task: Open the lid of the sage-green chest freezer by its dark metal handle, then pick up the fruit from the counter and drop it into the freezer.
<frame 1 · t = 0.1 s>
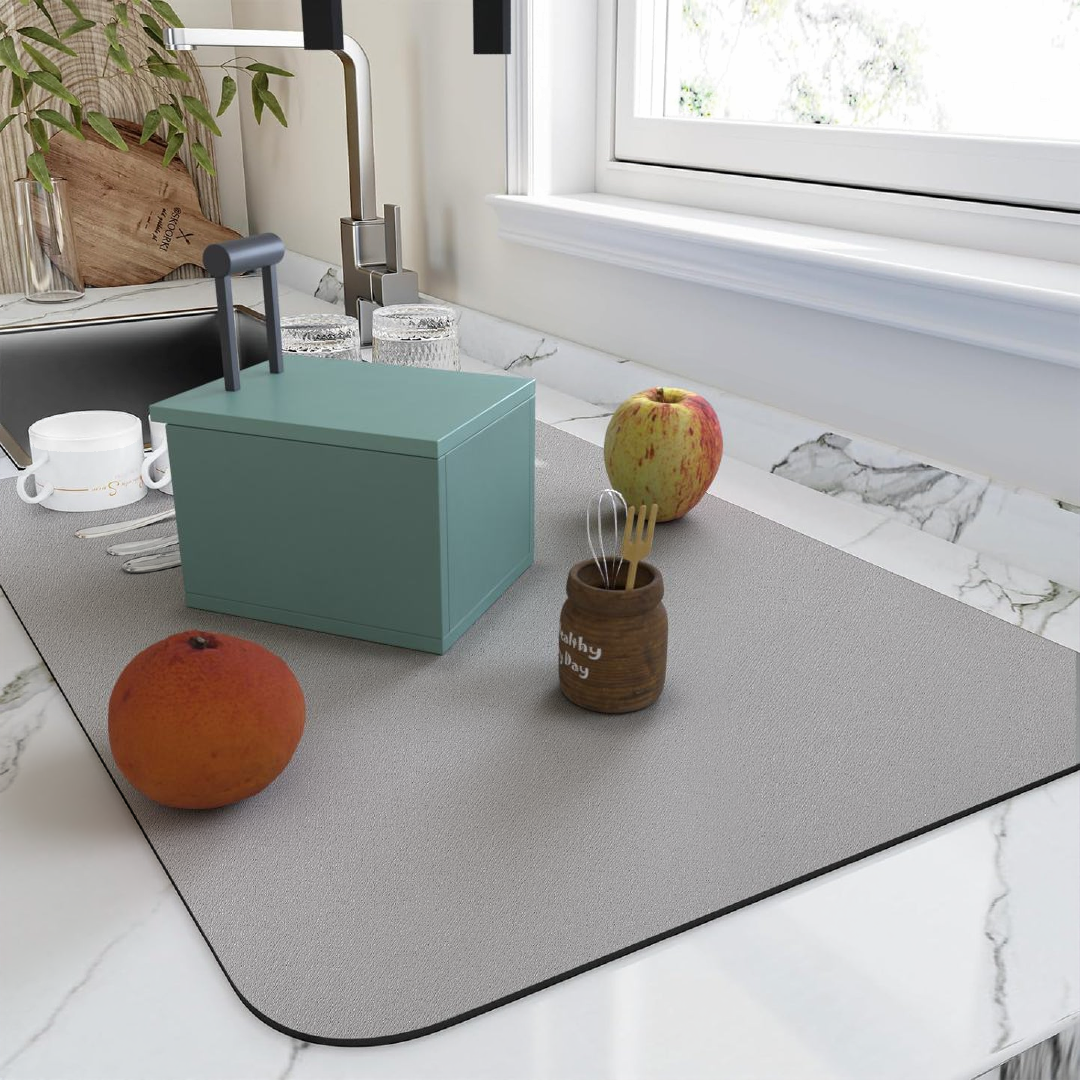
hand: (413, 53, 71), 33 cm above the worktop, tool pointing down, fingers open, 13 cm apart
apple: (658, 516, 90), on the worktop
freezer lid: (347, 327, 71), point 17 cm above the worktop, hinge at 0.0°
freezer: (368, 583, 77), on the worktop
utensil holder: (612, 693, 64), on the worktop
fruit: (217, 787, 55), on the worktop
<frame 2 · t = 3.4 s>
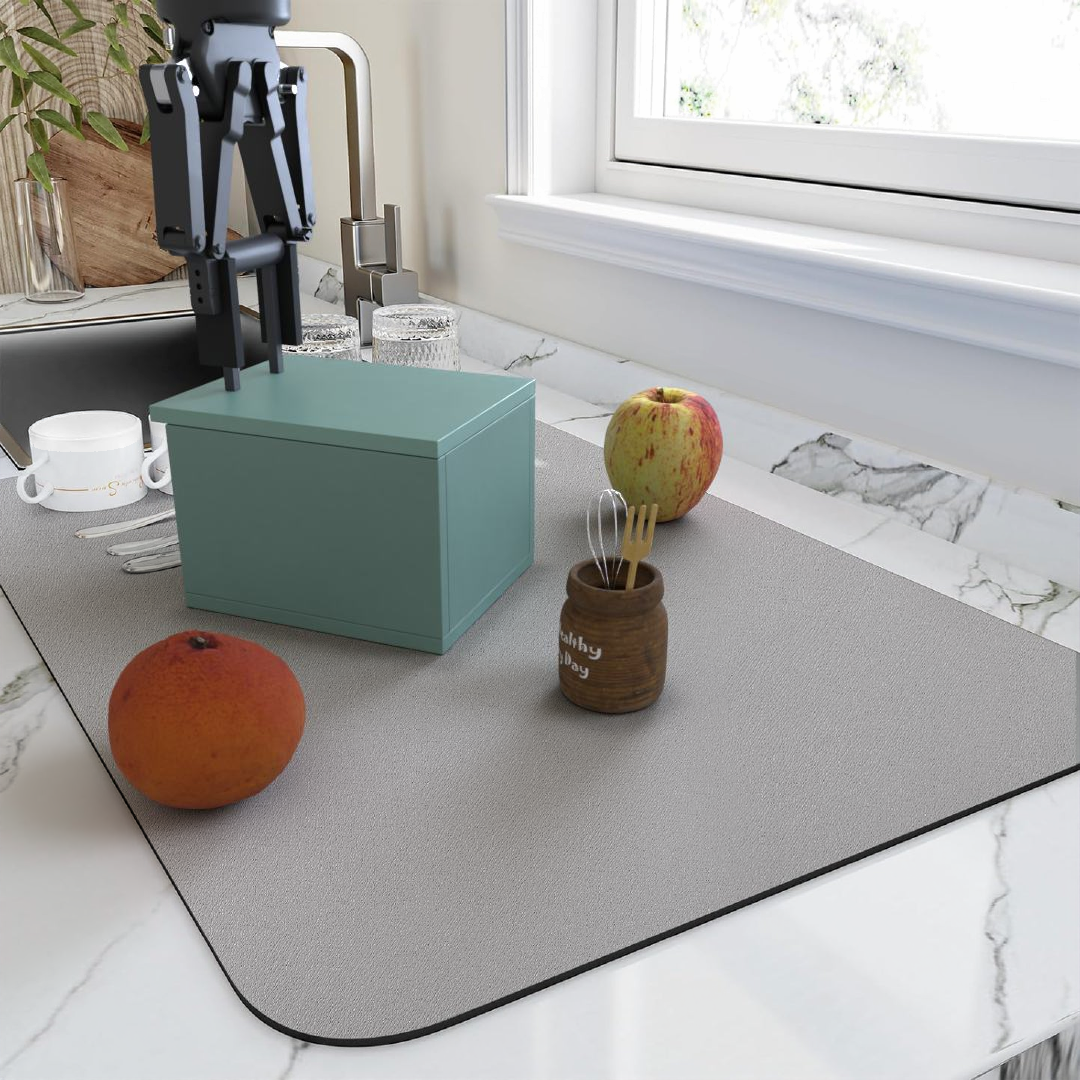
hand: (253, 353, 74), 15 cm above the worktop, tool pointing down, fingers closed on freezer lid, 6 cm apart
freezer lid: (347, 327, 71), point 17 cm above the worktop, hinge at 0.0°, touching gripper
everything else where it was.
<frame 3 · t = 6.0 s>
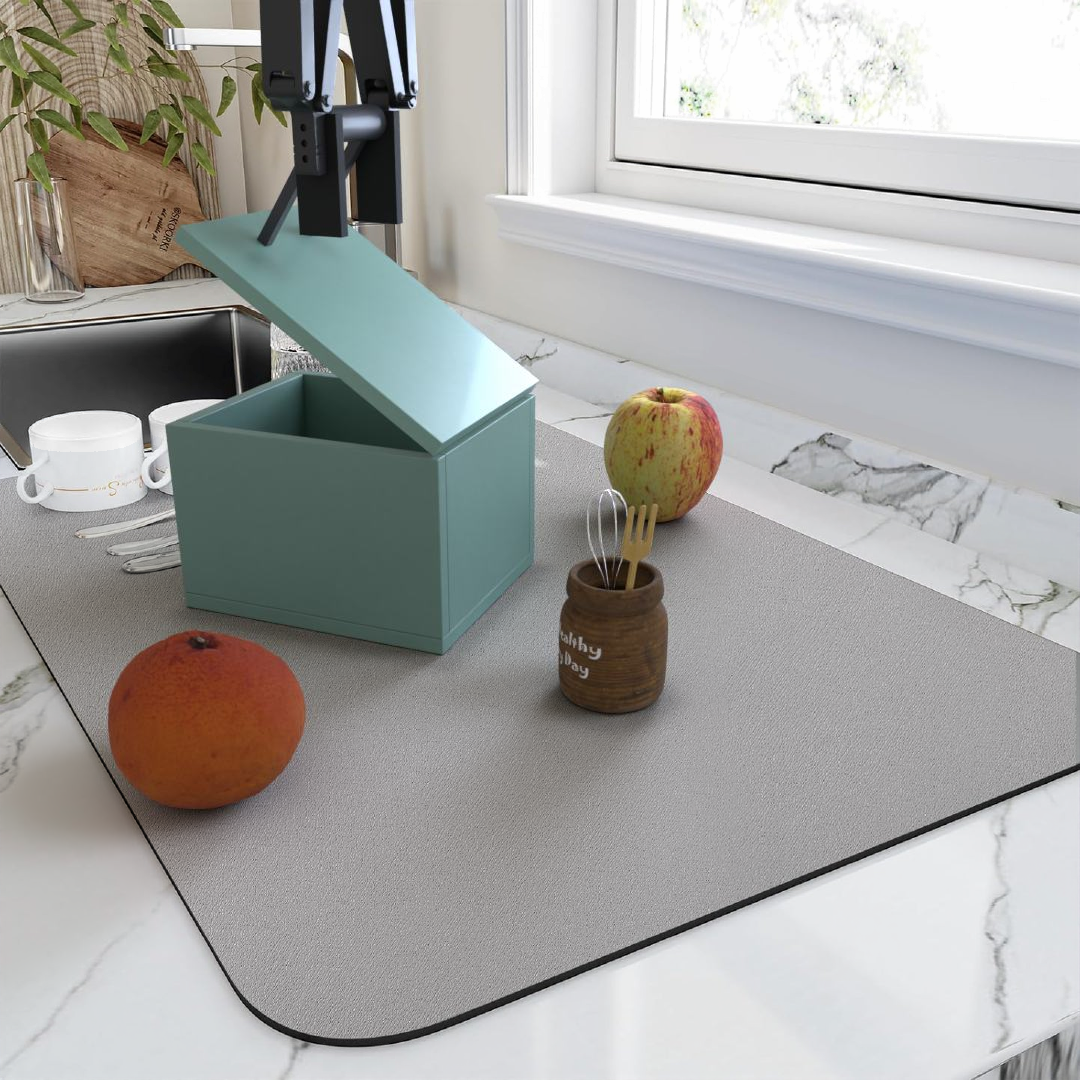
hand: (353, 228, 68), 23 cm above the worktop, tool pointing down, fingers closed on freezer lid, 6 cm apart
freezer lid: (406, 256, 68), point 22 cm above the worktop, hinge at 34.3°, touching gripper
everything else where it was.
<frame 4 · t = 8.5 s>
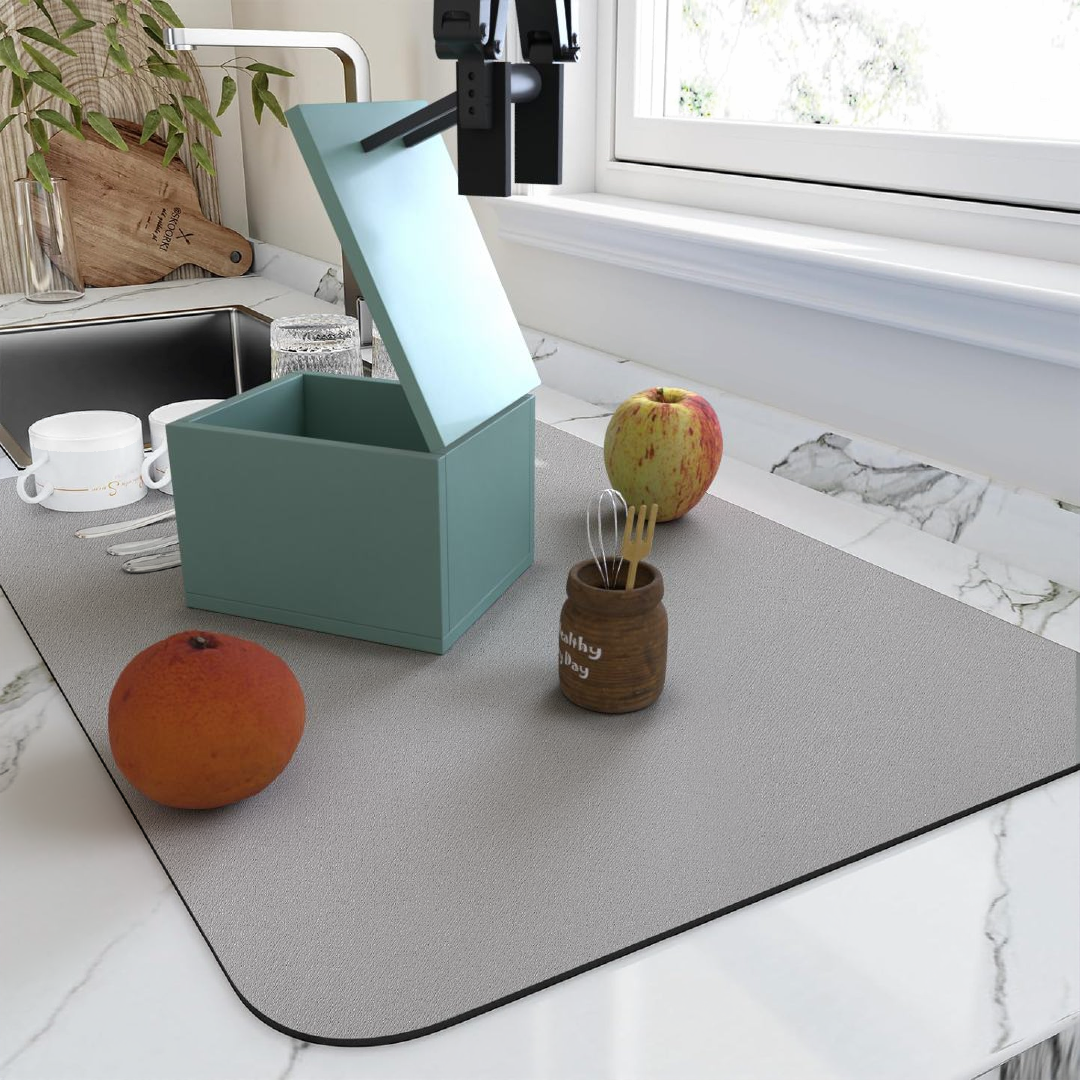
hand: (512, 188, 64), 26 cm above the worktop, tool pointing down, fingers open, 7 cm apart
freezer lid: (493, 235, 65), point 23 cm above the worktop, hinge at 65.6°
everything else where it was.
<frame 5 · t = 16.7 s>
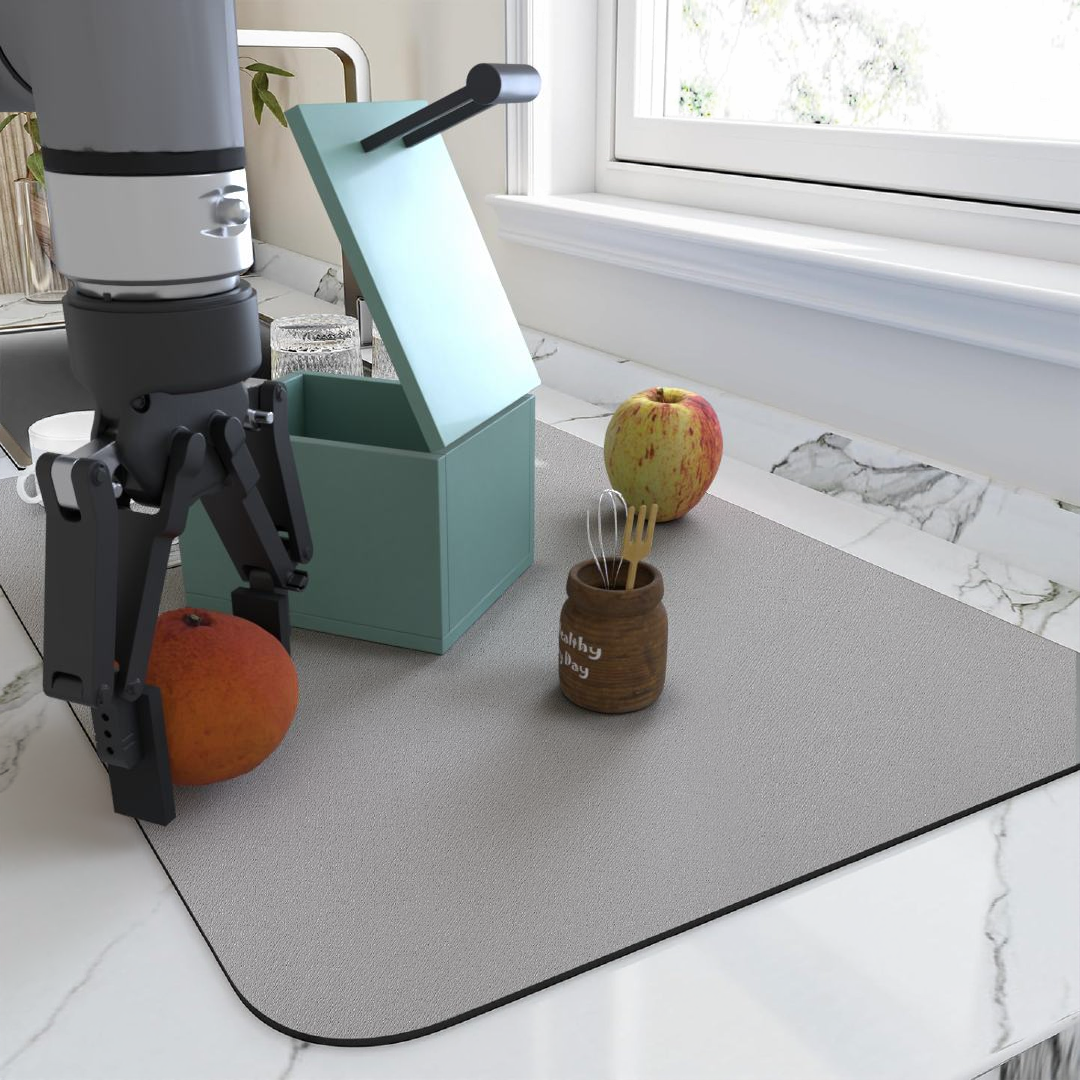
hand: (211, 757, 55), 1 cm above the worktop, tool pointing down, fingers closed on fruit, 9 cm apart
fruit: (209, 764, 55), point 1 cm above the worktop, touching gripper
everything else where it was.
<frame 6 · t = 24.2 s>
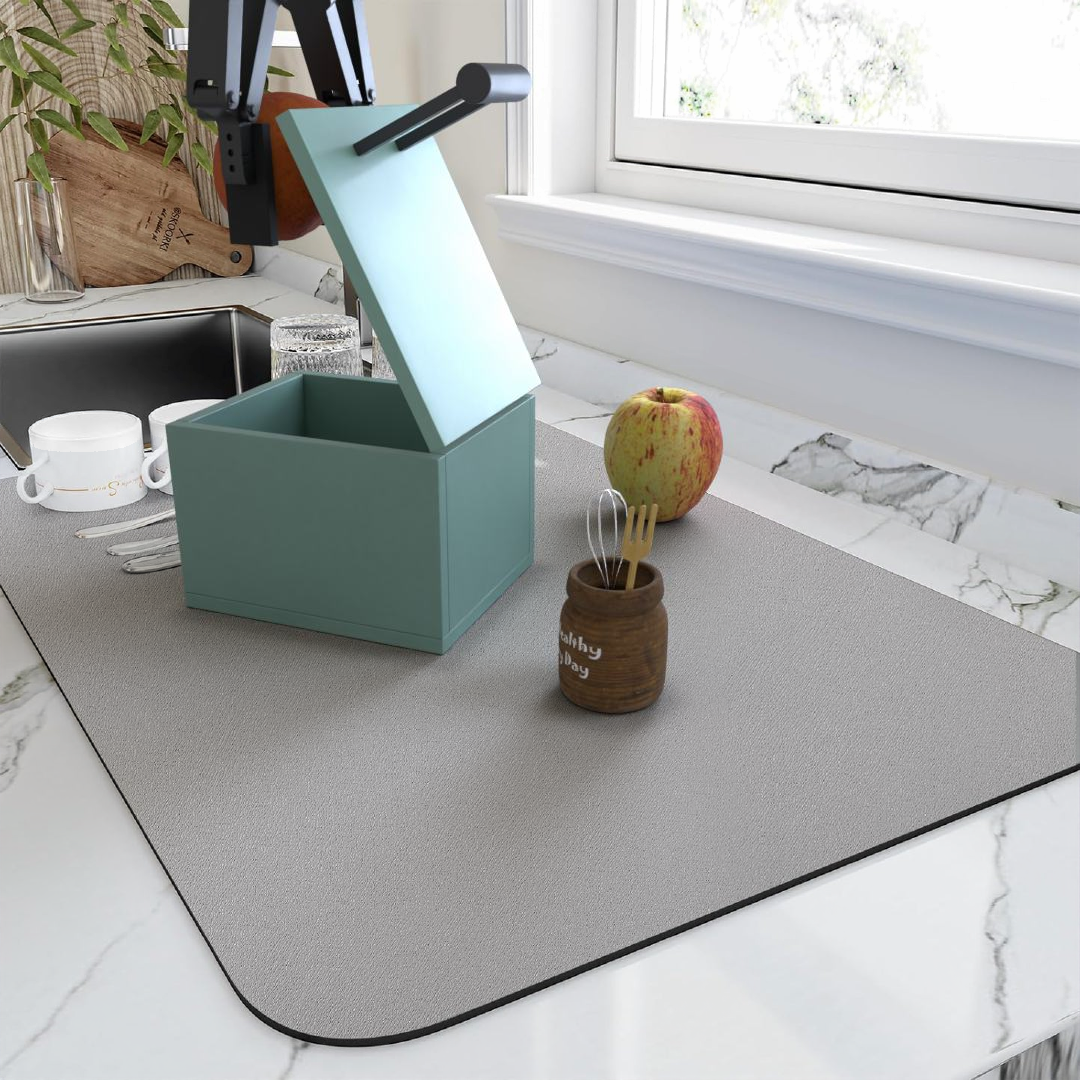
hand: (300, 234, 70), 22 cm above the worktop, tool pointing down, fingers closed on fruit, 9 cm apart
freezer lid: (487, 235, 66), point 23 cm above the worktop, hinge at 63.8°
fruit: (330, 219, 69), point 23 cm above the worktop, touching gripper
everything else where it was.
when the fingers open (12 cm above the worktop, at t = 27.8 s): fruit stays where it is, resting on freezer.
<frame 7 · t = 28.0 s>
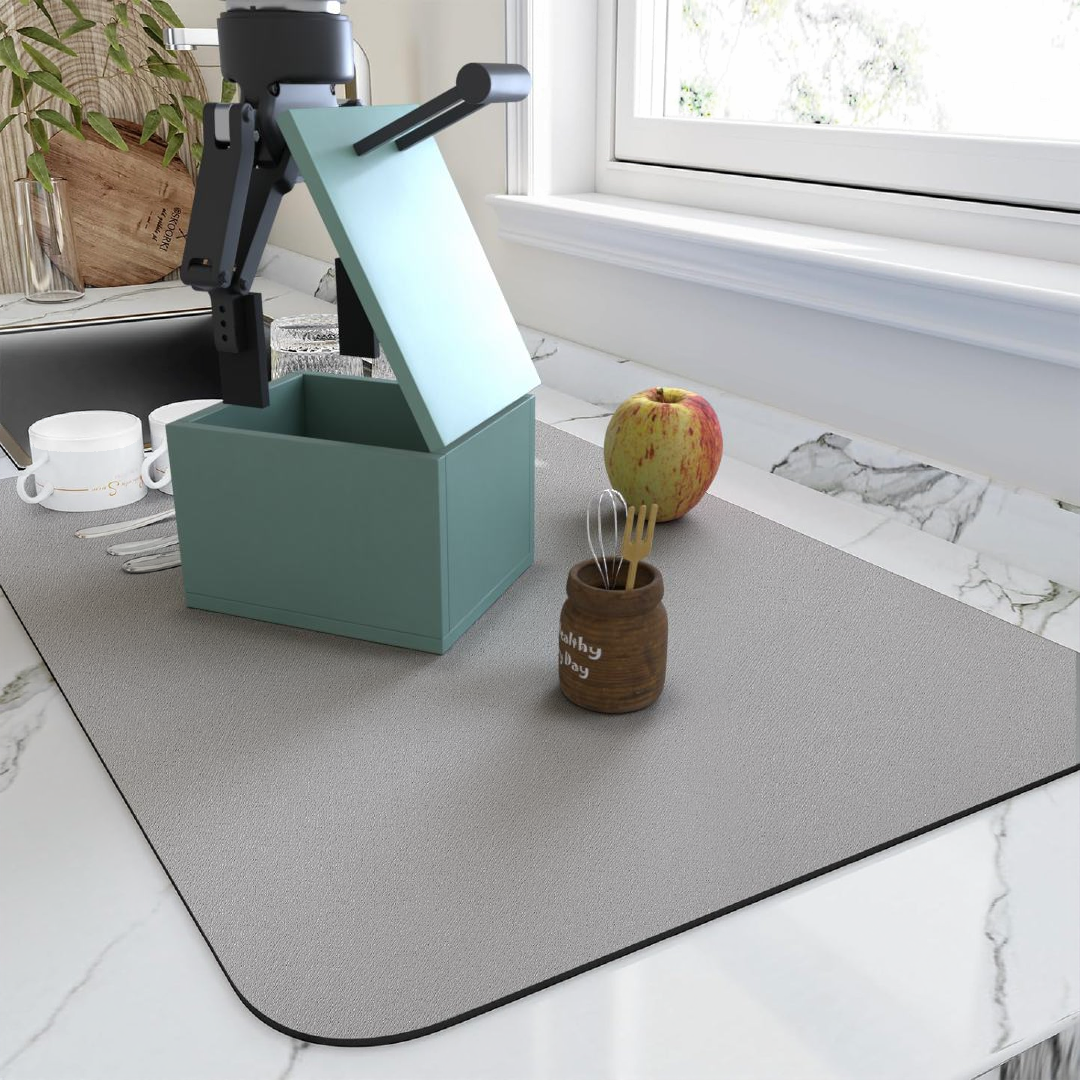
hand: (307, 379, 73), 14 cm above the worktop, tool pointing down, fingers open, 13 cm apart
fruit: (324, 563, 78), point 1 cm above the worktop, touching freezer
everything else where it was.
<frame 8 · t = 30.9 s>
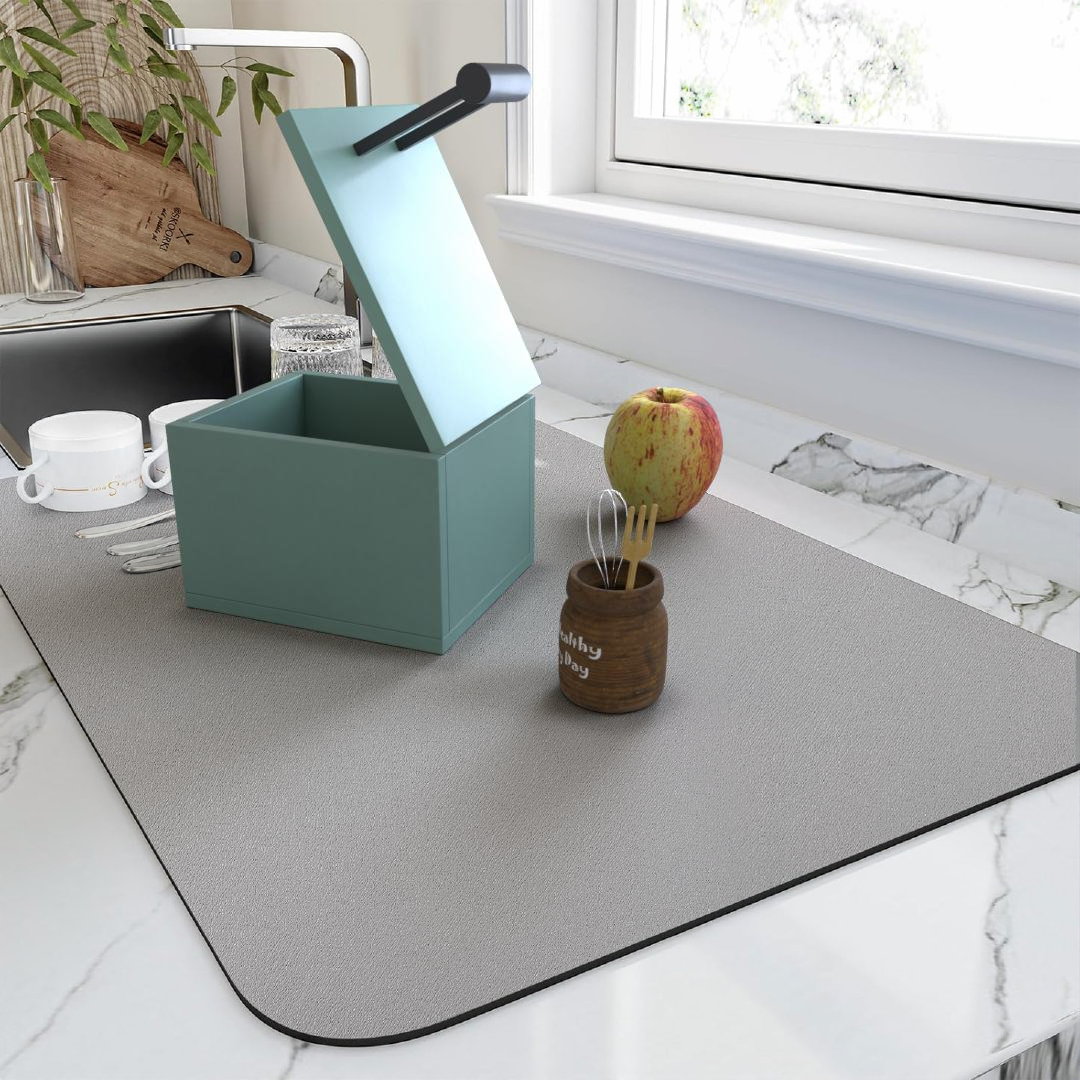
nothing on the worktop moved.
at the end: freezer lid at +64° (first picture: +0°); fruit inside the target area in the freezer (3.4 cm from its centre), point 0.8 cm above the freezer's base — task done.
